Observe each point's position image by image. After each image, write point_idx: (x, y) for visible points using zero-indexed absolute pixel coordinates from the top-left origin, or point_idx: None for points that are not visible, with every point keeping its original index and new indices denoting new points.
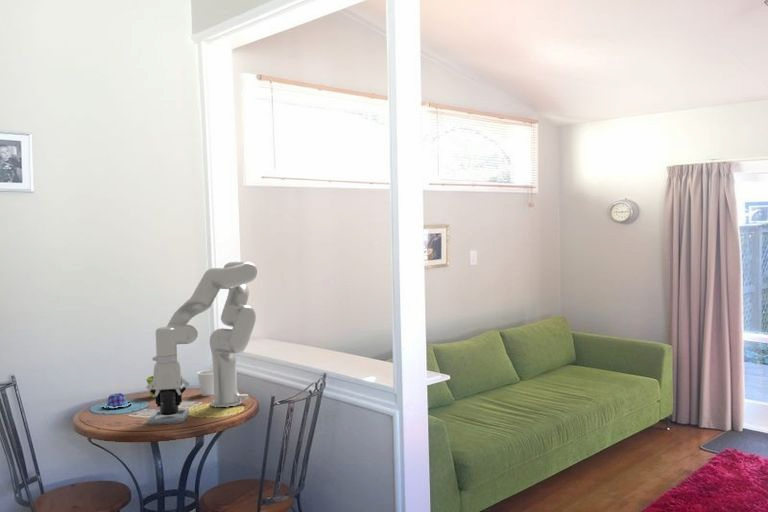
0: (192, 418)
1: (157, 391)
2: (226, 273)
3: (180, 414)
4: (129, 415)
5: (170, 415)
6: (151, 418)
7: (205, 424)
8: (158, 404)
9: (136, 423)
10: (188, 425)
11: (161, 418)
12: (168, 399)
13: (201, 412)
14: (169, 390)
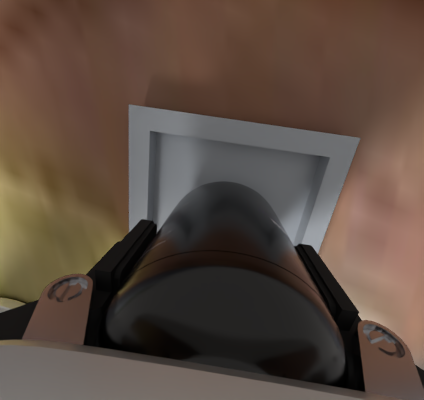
0: (110, 186)
1: (397, 394)
2: None
3: None
4: None
5: None
6: (331, 166)
7: (3, 15)
8: (306, 251)
9: (394, 200)
10: (104, 31)
11: (269, 138)
12: (216, 222)
13: None
14: (184, 341)
